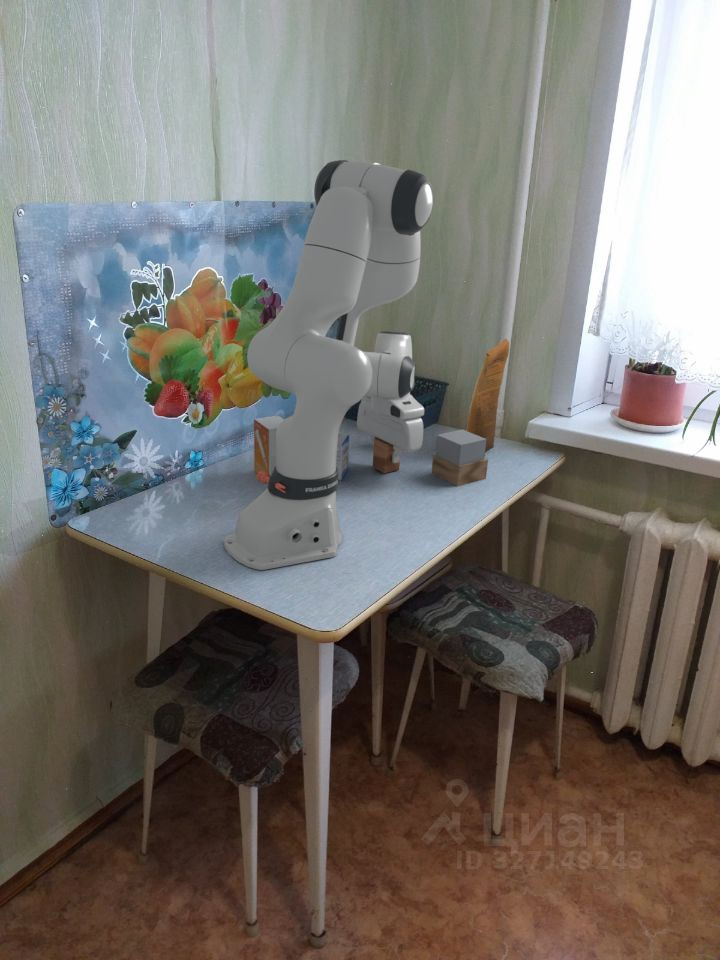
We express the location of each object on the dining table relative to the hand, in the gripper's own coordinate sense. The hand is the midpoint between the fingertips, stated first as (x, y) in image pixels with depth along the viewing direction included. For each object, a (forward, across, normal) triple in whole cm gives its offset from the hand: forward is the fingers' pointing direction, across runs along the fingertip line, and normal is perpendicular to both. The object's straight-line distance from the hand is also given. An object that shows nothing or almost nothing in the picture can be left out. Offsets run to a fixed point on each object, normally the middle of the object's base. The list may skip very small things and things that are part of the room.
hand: (386, 458), depth 179 cm
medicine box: (+3, -4, -12) cm, 13 cm away
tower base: (+3, +12, +12) cm, 17 cm away
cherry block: (+3, 0, 0) cm, 3 cm away
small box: (+3, -10, -25) cm, 27 cm away
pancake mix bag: (+3, +2, +29) cm, 29 cm away
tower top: (-2, +12, +12) cm, 17 cm away
